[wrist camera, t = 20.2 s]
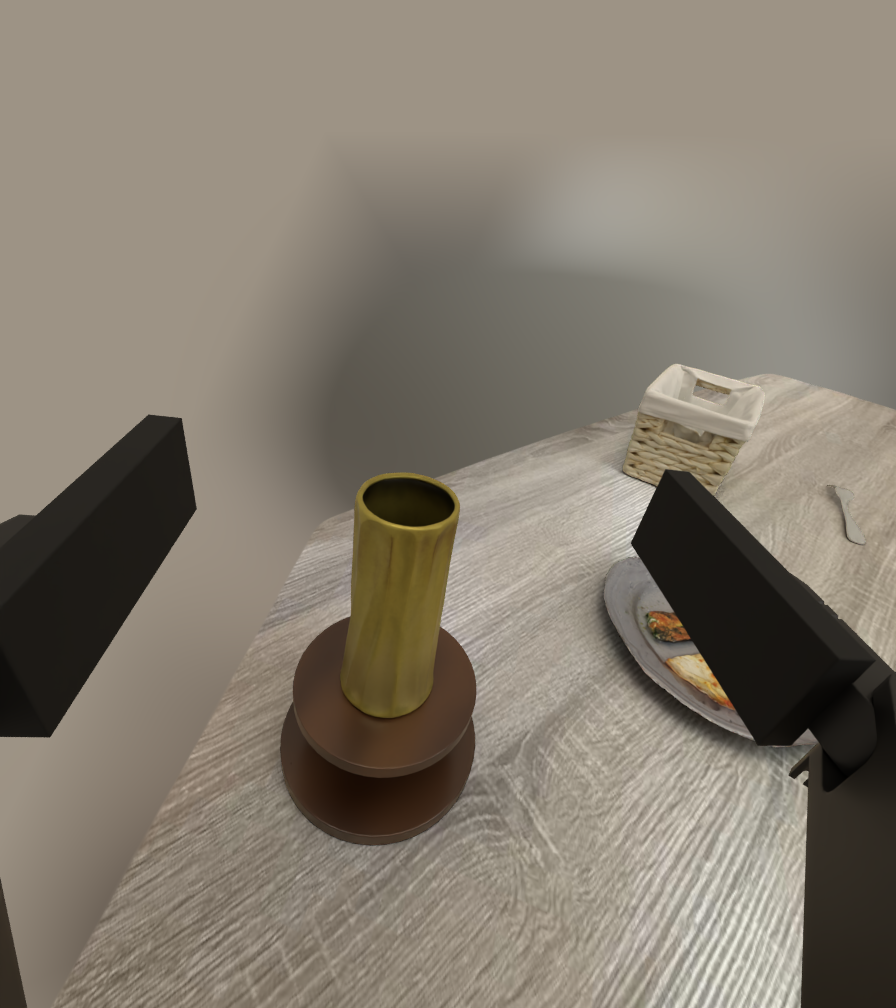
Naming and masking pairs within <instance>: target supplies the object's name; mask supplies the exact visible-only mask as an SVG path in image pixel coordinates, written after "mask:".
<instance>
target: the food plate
mask: <svg viewBox="0 0 896 1008" xmlns="http://www.w3.org/2000/svg"><path fill="white" fill-rule="evenodd" d="M605 581H606V584H605V587H604V592H603V593H604V600H605V602H606V607H607V610H608V613H609V614H610V616H609V617H610V619H611V621H612V622H613V624H614V626H615V628H616V630H617V632H618V634H620V635H619V637H620V636H621V637H622V640H623V641H624V642H625V644H624V645H626V646H627V648H629V651H630V652H631V654H632V655H634V658H635V660H637V662H638V664H639V665H640V667H641V668H642V670H643V671H644V672H645V674H647V675H648V676H649V677H650V678H651V679H653V681H655V682H656V683H657V684H658V685H659V686H661V687H662V688H663V689H664V688H665V689H666V691H667V692H669V694H672V695H673V697H675V698H677V700H679V701H680V702H681V703H683V704H684V705H687V707H688V708H690V709H691V710H693V711H694V712H697V714H700V715H702V716H703V717H704V718H705V719H709V721H710V722H713V723H715V724H717V725H718V726H720V727H723V728H725V729H727V730H728V731H731V732H733V733H736V734H739V735H740V736H743V737H745V738H748V739H751V740H753V741H755V740H754V738H753V737H752V735H751V734H750V732H749V730H748V729H747V727H746V726H745V724H744V723H743V721H742V719H741V718H740V716H739V715H738V713H737V711H736V710H735V708H734V707H733V705H732V703H731V702H730V700H729V699H728V697H727V695H726V694H725V692H724V691H723V689H722V688H721V686H720V684H719V683H718V681H717V680H716V678H715V676H714V675H713V673H712V672H711V670H710V668H709V667H708V665H707V664H706V662H705V661H704V659H703V657H702V656H701V654H700V653H699V651H698V649H697V648H696V646H695V645H694V643H693V641H692V640H691V638H690V637H689V635H688V633H687V632H686V630H685V629H684V627H683V626H682V624H681V622H680V621H679V619H678V618H677V616H676V614H675V613H674V611H673V610H672V608H671V606H670V605H669V603H668V602H667V600H666V599H665V597H664V595H663V594H662V592H661V591H660V589H659V587H658V586H657V584H656V583H655V581H654V579H653V578H652V576H651V575H650V573H649V571H648V570H647V568H646V567H645V565H644V564H643V562H642V560H641V559H640V558H637V557H635V558H633V557H628V558H625V559H623V560H621V561H618V562H617V563H615V564H614V565H613V566H612V567H611V568H610V569H609V572H608V573H607V574H606V579H605ZM818 743H819V742H818V741H817V739H816V738H815V737H814V735H813V734H812V733H811V731H810V730H809V729H807V730H806V731H805V732H804V733H803V734H802V735H801V736H800V737H799V738H798V739H797V740H796V741H795V742H794V743H793V744H792V745H791V746H798V745H806V744H810V745H812V744H818ZM791 746H785V747H791ZM770 747H773V746H770ZM775 747H776V748H777V747H779V748H781V747H783V746H774V748H775Z"/></svg>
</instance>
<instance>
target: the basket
mask: <svg viewBox="0 0 896 1008" xmlns="http://www.w3.org/2000/svg"><path fill="white" fill-rule="evenodd" d="M695 385H696V386H700V387H703V388H707V389H710V390H712V391H716V392H720V393H723V394H728V395H729V396H728V399H727V402H726V403H725V404H724V405H721V404H717V403H714V402H710V401H707V400H704V399H702V398H698V397H696V396H694V395H693V393H692V392H693V390H694V388H695ZM764 400H765V394H764V391H763V390H762V388H761V387H759V386H755V385H751V384H747V383H744V382H741V381H737V380H734V379H730V378H727V377H723V376H720V375H716V374H713V373H709V372H705V371H702V370H699V369H695V368H690V367H686V366H683V365H680V364H673V365H672V366H670V367H669V368H667V369H666V370H665V371H664V372H663V373H662V374H661V375H660V376H659V377H658V378H657V379H656V380H655V381H654V382H653V383H652V384H651V385H650V386H649V387H648V388H647V389H646V391H645V394H644V397H643V399H642V402H641V403H640V405H639V409H638V415H637V420H636V423H635V428H634V431H633V434H632V437H631V440H630V442H629V447H628V449H627V451H628V452H627V455H626V459H625V463H624V465H623V471H624V472H625V473H626V474H628V475H630V476H632V477H635V478H639V479H641V480H643V481H645V482H648V483H651V484H654V485H655V486H658V484H659V482H660V479H661V477H662V475H663V473H664V471H665V469H669V470H678V471H688V472H690V473H691V474H692V475H693V476H694V477H695V478H696V479H697V480H698V481H699V482H700V483H701V484H702V485H703V486H704V487H705V488H706V489H707V490H708V491H709V492H710V493H711V494H712V495H713V496H714V493H716V491H717V489H718V486H719V484H720V483H722V481H723V478H724V475H727V473H728V471H729V470H730V467H731V464H732V463H733V461H734V460H735V456H737V455H738V453H739V449H740V448H741V447H742V445H743V444H744V443H745V442H748V441H749V440H750V438H751V435H752V432H753V430H754V428H755V427H756V425H757V423H758V421H759V418H760V415H761V412H762V408H763V404H764Z"/></svg>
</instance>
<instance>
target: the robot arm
mask: <svg viewBox="0 0 896 1008" xmlns="http://www.w3.org/2000/svg"><path fill="white" fill-rule="evenodd" d="M196 509H197V508H196V503H195V496H194V490H193V485H192V478H191V472H190V466H189V460H188V455H187V448H186V442H185V436H184V430H183V423H182V418H175V417H166V416H156V415H148V416H146V418H144V419H143V420H142V421H141V422H140V423H139V424H138V425H136V426H135V427H134V428H133V429H132V430H131V431H130V432H129V433H127V434H126V435H125V436H124V437H123V438H122V439H121V440H120V441H119V442H118V443H116V444H115V445H114V446H113V447H112V448H111V449H110V450H109V451H107V452H106V453H105V454H104V455H103V456H102V457H101V458H100V459H99V460H97V461H96V462H95V463H94V464H93V465H92V466H91V467H90V468H89V469H87V470H86V471H85V472H84V473H83V474H82V475H81V476H80V477H78V478H77V479H76V480H75V481H74V482H73V483H72V484H71V485H70V486H68V487H67V488H66V489H65V490H64V491H63V492H62V493H61V494H60V495H58V496H57V498H55V499H54V500H53V501H52V502H51V503H50V504H48V505H47V506H46V507H45V508H44V509H43V510H42V511H41V512H40V513H38V514H37V515H36V516H32V515H18V516H16V517H13V518H11V519H9V520H7V521H5V522H3V523H1V524H0V737H51V735H52V734H53V732H54V730H55V729H56V727H57V726H58V724H59V723H60V721H61V720H62V718H63V716H64V715H65V713H66V712H67V710H68V708H69V707H70V706H71V704H72V702H73V701H74V699H75V697H76V696H77V694H78V693H79V691H80V690H81V688H82V687H83V685H84V684H85V682H86V681H87V679H88V677H89V676H90V674H91V673H92V671H93V670H94V668H95V666H96V665H97V663H98V662H99V660H100V659H101V657H102V656H103V654H104V652H105V651H106V649H107V648H108V646H109V645H110V643H111V642H112V640H113V638H114V637H115V635H116V634H117V632H118V631H119V629H120V627H121V626H122V624H123V623H124V621H125V620H126V618H127V616H128V615H129V614H130V612H131V610H132V609H133V607H134V606H135V604H136V603H137V601H138V599H139V598H140V596H141V595H142V593H143V592H144V590H145V589H146V587H147V586H148V584H149V582H150V581H151V579H152V578H153V576H154V575H155V573H156V571H157V570H158V568H159V567H160V565H161V564H162V562H163V561H164V559H165V557H166V556H167V554H168V553H169V551H170V550H171V547H172V546H173V545H174V543H175V542H176V540H177V539H178V537H179V536H180V534H181V533H182V531H183V529H184V528H185V526H186V525H187V523H188V522H189V520H190V519H191V517H192V515H193V514H194V512H195V511H196ZM631 544H632V546H633V548H634V549H635V551H636V552H637V554H638V556H639V557H640V559H641V560H642V562H643V564H644V565H645V567H646V568H647V570H648V571H649V573H650V575H651V576H652V578H653V579H654V581H655V583H656V584H657V586H658V587H659V589H660V591H661V592H662V594H663V595H664V597H665V599H666V600H667V602H668V603H669V605H670V606H671V608H672V610H673V611H674V613H675V614H676V616H677V618H678V619H679V621H680V622H681V624H682V626H683V627H684V629H685V630H686V632H687V633H688V635H689V637H690V638H691V640H692V641H693V643H694V645H695V646H696V648H697V649H698V651H699V653H700V654H701V656H702V657H703V659H704V661H705V662H706V664H707V665H708V667H709V668H710V670H711V672H712V673H713V675H714V676H715V678H716V680H717V681H718V683H719V684H720V686H721V688H722V689H723V691H724V692H725V694H726V695H727V697H728V699H729V700H730V702H731V703H732V705H733V707H734V708H735V710H736V711H737V713H738V715H739V716H740V718H741V719H742V721H743V723H744V724H745V726H746V727H747V729H748V730H749V732H750V734H751V735H752V737H753V738H754V740H755V742H756V743H757V745H758V746H791V745H792V744H793V743H794V742H795V741H796V740H797V739H798V738H799V737H800V736H801V735H802V734H803V733H804V732H805V731H806V730H807V729H809V730H810V731H811V733H812V734H813V735H814V737H815V738H816V739H817V741H818V742H819V743H818V744H817V745H816V746H814V747H813V748H812V749H811V750H810V751H809V752H808V753H807V754H806V755H805V756H804V757H803V758H802V759H801V760H800V761H799V762H798V763H797V764H796V765H795V766H793V767H792V768H791V771H790V773H789V776H790V777H792V778H793V779H795V778H796V777H797V776H798V775H799V774H801V773H802V772H803V771H809V778H808V779H807V780H806V781H805V782H804V783H803V785H805V786H807V787H808V808H807V838H806V867H805V897H804V927H803V957H802V987H801V1008H896V672H894V671H893V670H892V669H891V668H890V667H889V666H888V665H887V664H886V663H885V662H884V661H883V660H882V659H881V658H880V657H879V656H878V655H877V654H876V653H875V652H874V651H873V650H872V649H871V648H870V647H869V646H868V645H867V644H866V643H865V642H864V641H863V640H862V639H861V638H860V637H859V636H858V635H857V634H856V633H855V632H854V631H853V630H852V629H851V628H850V627H849V626H848V625H847V624H846V623H845V622H844V621H843V620H842V619H838V615H837V614H836V613H835V612H834V611H833V610H832V609H831V608H830V607H829V606H828V605H824V601H823V600H822V599H821V598H820V597H819V596H818V595H817V594H816V593H815V592H814V591H813V590H812V589H811V588H810V587H809V586H808V585H807V584H805V583H804V582H802V581H801V580H799V579H798V578H797V577H795V576H794V575H792V574H791V573H789V572H788V571H787V570H786V569H785V568H784V567H783V566H782V565H781V564H780V563H779V562H778V561H777V560H776V559H775V558H774V557H773V556H772V555H771V554H770V553H769V552H768V551H767V550H766V549H765V548H764V547H763V546H762V545H761V544H760V543H759V542H758V540H757V539H756V538H755V537H754V536H753V535H752V534H751V533H750V532H749V531H748V530H747V529H746V528H745V527H744V526H743V525H742V524H741V523H740V522H739V521H738V520H737V519H736V518H735V517H734V516H733V515H732V514H731V513H730V512H729V511H728V510H727V509H726V508H725V507H724V506H723V505H722V504H721V503H720V502H719V501H718V500H717V499H716V498H715V497H714V496H713V495H712V494H711V493H710V492H709V491H708V490H707V489H706V488H705V487H704V486H703V485H702V484H701V483H700V482H699V481H698V480H697V479H696V478H695V477H694V476H693V475H692V474H691V473H690V472H688V471H678V470H669V469H665V471H664V473H663V475H662V477H661V479H660V482H659V484H658V486H657V488H656V490H655V492H654V495H653V497H652V499H651V501H650V503H649V505H648V507H647V510H646V512H645V514H644V516H643V518H642V520H641V522H640V525H639V527H638V529H637V531H636V533H635V535H634V537H633V540H632V542H631ZM0 1008H27V1005H26V1000H25V995H24V990H23V986H22V981H21V976H20V972H19V967H18V962H17V957H16V952H15V947H14V942H13V937H12V933H11V928H10V923H9V918H8V914H7V909H6V904H5V899H4V894H3V889H2V884H1V879H0Z"/></svg>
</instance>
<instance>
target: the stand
mask: <svg viewBox="0 0 896 1008" xmlns="http://www.w3.org/2000/svg"><path fill="white" fill-rule="evenodd" d="M350 617H351V616H350ZM350 617H348V618H345V619H343V620H341V621H339V622H337V623H335V624H333V625H332V626H330V627H329V628H327V629H325V630H324V631H323V632H322V633H321V634H319V635H318V636H317V637H316V638H315V639H314V640H313V641H312V642H311V644H310V645H309V646H308V648H307V649H306V650H305V652H304V653H303V655H302V657H301V659H300V661H299V663H298V666H297V669H296V672H295V676H294V681H293V703H292V705H291V707H290V709H289V711H288V713H287V716H286V718H285V721H284V724H283V729H282V734H281V746H280V751H281V762H282V771H283V776H284V780H285V784H286V786H287V789H288V791H289V793H290V796H291V797H292V799H293V801H294V802H295V804H296V806H297V807H298V808H299V810H300V811H301V812H302V813H303V814H304V816H305V817H306V818H307V819H308V820H309V821H311V822H312V823H313V824H314V825H315V826H316V827H318V828H319V829H321V830H323V831H324V832H326V833H327V834H329V835H331V836H334V837H336V838H338V839H341V840H344V841H347V842H351V843H355V844H364V845H385V844H390V843H395V842H400V841H403V840H406V839H409V838H411V837H414V836H416V835H418V834H420V833H422V832H424V831H425V830H427V829H428V828H430V827H431V826H433V825H434V824H435V823H437V822H438V821H439V820H440V819H441V818H442V817H443V816H444V815H445V814H446V813H447V812H448V811H449V810H450V809H451V807H452V806H453V805H454V804H455V802H456V801H457V799H458V798H459V796H460V794H461V792H462V791H463V789H464V786H465V784H466V781H467V779H468V776H469V773H470V770H471V766H472V762H473V759H474V751H475V731H474V725H473V720H472V717H471V716H472V713H473V709H474V706H475V700H476V680H475V674H474V671H473V668H472V664H471V662H470V660H469V658H468V656H467V654H466V653H465V651H464V649H463V648H462V646H461V645H460V644H459V643H458V642H457V641H456V639H455V638H454V637H452V636H451V635H450V634H449V633H448V632H447V631H445V630H444V629H443V628H441V627H440V629H439V635H438V642H437V649H436V655H435V662H434V670H433V686H432V689H431V692H430V694H429V696H428V697H427V699H426V700H425V701H424V703H423V704H422V705H421V706H419V707H418V708H417V709H415V710H414V711H412V712H410V713H408V714H405V715H402V716H399V717H394V718H380V717H374V716H371V715H368V714H366V713H364V712H362V711H361V710H359V709H358V708H357V707H355V706H354V705H353V704H352V703H351V702H350V701H349V700H348V699H347V698H346V696H345V694H344V692H343V690H342V687H341V680H340V673H341V669H342V664H343V659H344V652H345V645H346V640H347V634H348V628H349V623H350Z"/></svg>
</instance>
